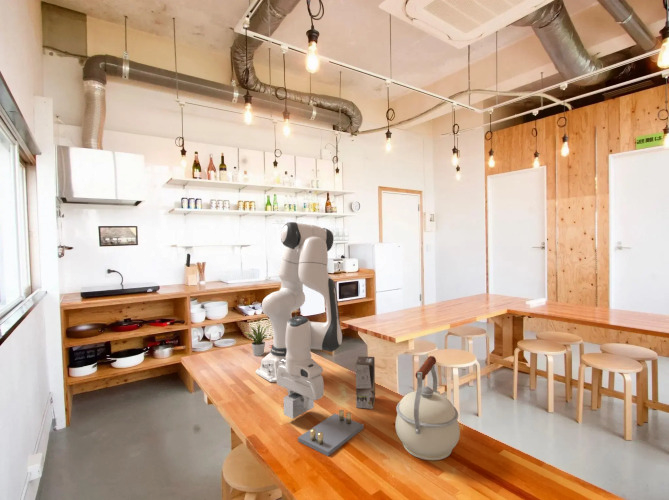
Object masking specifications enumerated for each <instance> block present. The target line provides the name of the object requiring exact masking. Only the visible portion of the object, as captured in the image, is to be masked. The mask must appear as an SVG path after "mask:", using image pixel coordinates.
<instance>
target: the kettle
mask: <svg viewBox="0 0 669 500" xmlns="http://www.w3.org/2000/svg"><path fill="white" fill-rule="evenodd" d="M436 363H437V358H436V357H435V356H434V355H429V356H427V359H426V360H424V362H423V364H422V365H421V366H420V368H419V370H417V371H416V373H415V378H416V380H417V381H416V382H417V383H416V390H415V391H411V392H409V393H407V394H405V395H404V396H403V397H402V398H401V400H400V401H399V402H398V403H397V405H396V409H395V411H396V413H397V414H396V417H395V427H394V428H395V432H396V435H397V437H398V438H399V440H400V441H401V442H402V446H403V447H404V449H405V450H406V452H408V453H409V454H410V455H411V456H413V457H416V458H417V459H421V460H425V461H440V460H443V459H446V458H447V457H449V456H450V455H451V453H452V451H453V449H454V448H455V447H456V445H458V442H459V441H460V435H461V432H460V431H461V430H460V425H459V421H458V419H459V411H458V410H457V408H456V407H455V406H454V405H453V403H452V401H450V399H448V398H447V397H446V396H444V395H442V394H441V392H440V391H439V390H438V376H437V371H436V368H435V366H436ZM429 372H431V376H432V388H431V387H429V386H427V385H426V386H423V381H424V380H425V379H426V376H427V375H428V374H429Z"/></svg>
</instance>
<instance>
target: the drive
mask: <svg viewBox="0 0 669 500" xmlns="http://www.w3.org/2000/svg"><path fill="white" fill-rule="evenodd" d="M304 400H305V399H304V396H303V395H301V394H298V393H296V392H293V393H291V394H287V395H285V396H283V415H284V416H286V417H289V418H290V419H295V418H297V417H299V416H300V415H303V414H304V413H306V412H308V411H310V410H311V409H313V408H315V405H314V404H315V400H313V399H310V400H309V402H308V407H307V408H304V407H302V402H303V401H304Z"/></svg>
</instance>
